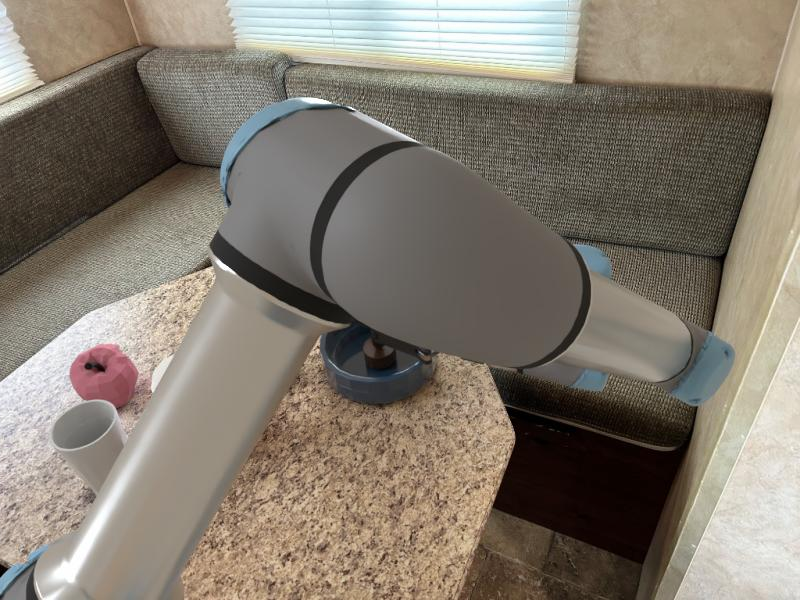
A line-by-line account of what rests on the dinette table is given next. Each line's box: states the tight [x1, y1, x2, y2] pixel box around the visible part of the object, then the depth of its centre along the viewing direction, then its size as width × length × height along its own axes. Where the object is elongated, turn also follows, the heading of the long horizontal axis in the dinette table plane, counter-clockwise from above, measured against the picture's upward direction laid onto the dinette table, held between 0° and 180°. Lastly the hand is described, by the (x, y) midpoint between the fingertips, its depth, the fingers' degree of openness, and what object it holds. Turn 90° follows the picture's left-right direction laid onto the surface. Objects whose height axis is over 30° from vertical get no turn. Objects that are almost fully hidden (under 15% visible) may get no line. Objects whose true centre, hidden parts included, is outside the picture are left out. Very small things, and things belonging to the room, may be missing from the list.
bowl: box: [319, 321, 438, 405], centre depth 94 cm, size 18×18×6 cm
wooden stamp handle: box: [363, 329, 396, 369], centre depth 89 cm, size 5×5×16 cm
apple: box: [68, 343, 140, 409], centre depth 91 cm, size 10×9×10 cm
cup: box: [48, 400, 128, 497], centre depth 78 cm, size 8×8×12 cm
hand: (340, 303), depth 90 cm, fingers closed on wooden stamp handle, 2 cm apart
